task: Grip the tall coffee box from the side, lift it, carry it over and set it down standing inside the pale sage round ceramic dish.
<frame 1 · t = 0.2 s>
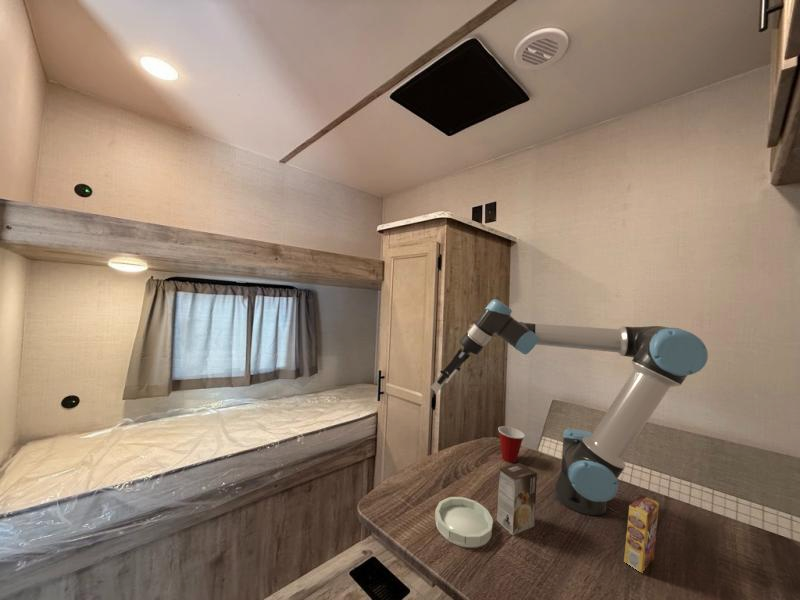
hand: (439, 385, 109), 35 cm above the table, tool tilted 35°, fingers open, 13 cm apart
plastic cup: (509, 459, 127), on the table
coffee box: (515, 524, 90), on the table
candy box: (639, 562, 79), on the table
round dish: (463, 525, 88), on the table
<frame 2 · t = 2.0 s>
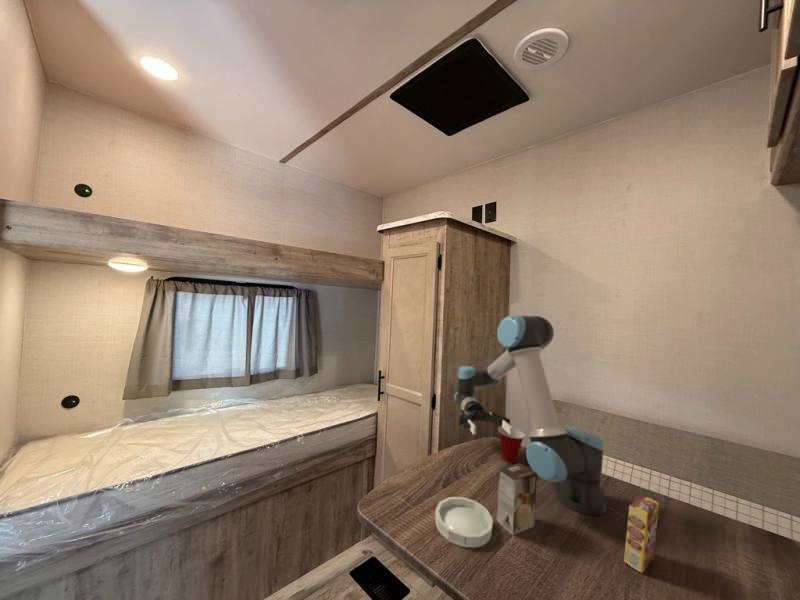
hand: (493, 431, 108), 19 cm above the table, tool horizontal, fingers open, 13 cm apart
nothing on the table moved.
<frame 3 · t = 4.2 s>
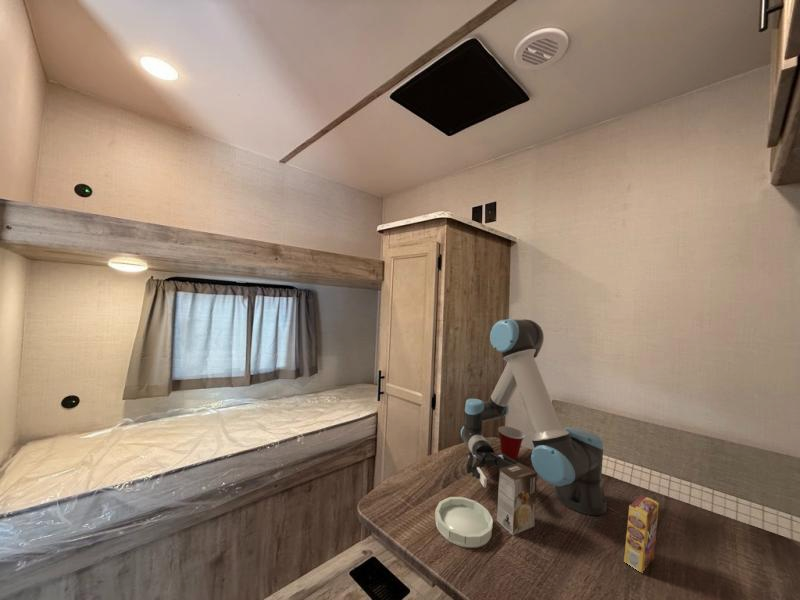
hand: (505, 482, 96), 8 cm above the table, tool horizontal, fingers open, 13 cm apart
nothing on the table moved.
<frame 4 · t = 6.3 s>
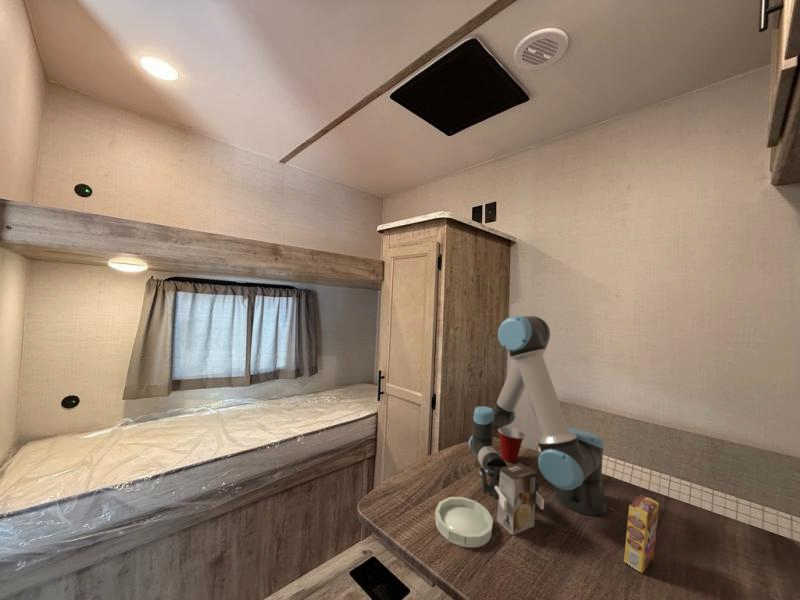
hand: (524, 504, 86), 9 cm above the table, tool horizontal, fingers closed on coffee box, 10 cm apart
coffee box: (515, 524, 90), on the table, touching gripper
everything else where it was.
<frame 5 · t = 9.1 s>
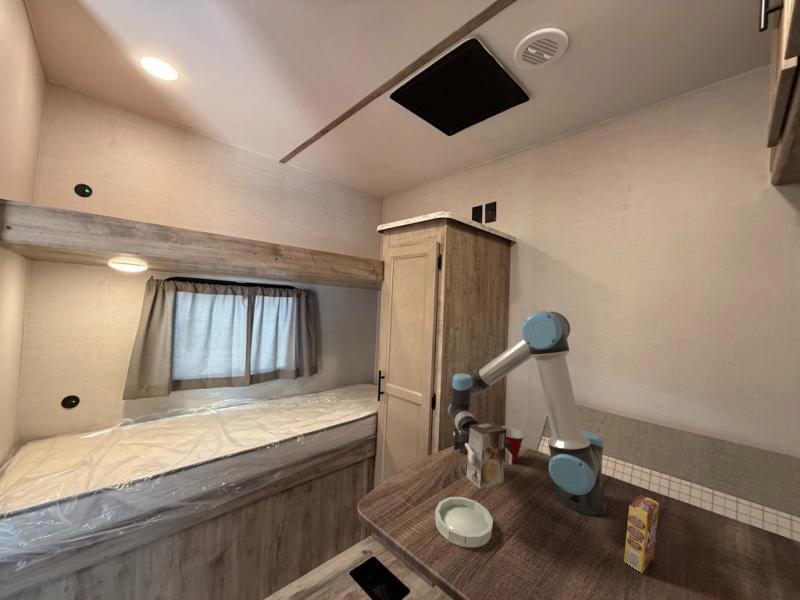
hand: (491, 459, 86), 21 cm above the table, tool horizontal, fingers closed on coffee box, 10 cm apart
coffee box: (484, 480, 90), point 12 cm above the table, touching gripper
everything else where it was.
when the fingers open (11 cm above the table, at t = 11.9 s): coffee box drops 1 cm, resting on round dish.
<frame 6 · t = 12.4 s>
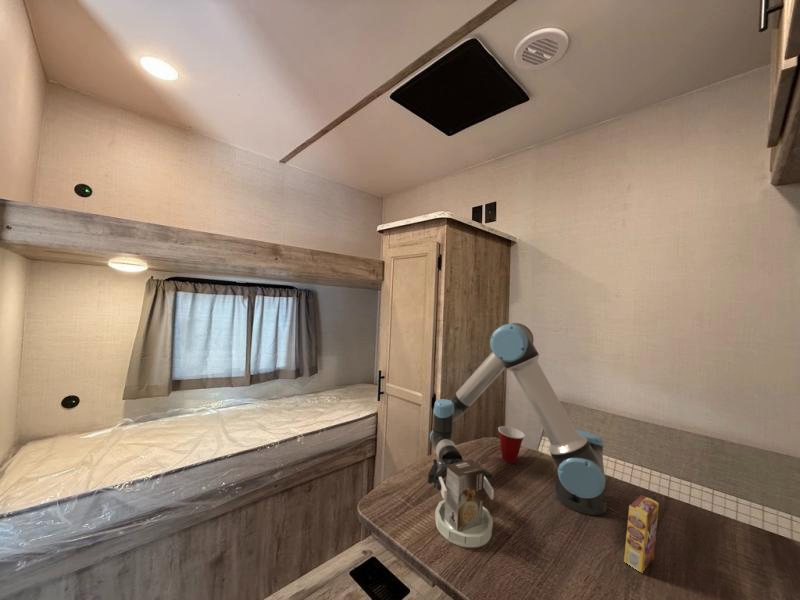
hand: (469, 495, 85), 11 cm above the table, tool horizontal, fingers open, 13 cm apart
coffee box: (462, 522, 88), point 1 cm above the table, touching round dish
everything else where it was.
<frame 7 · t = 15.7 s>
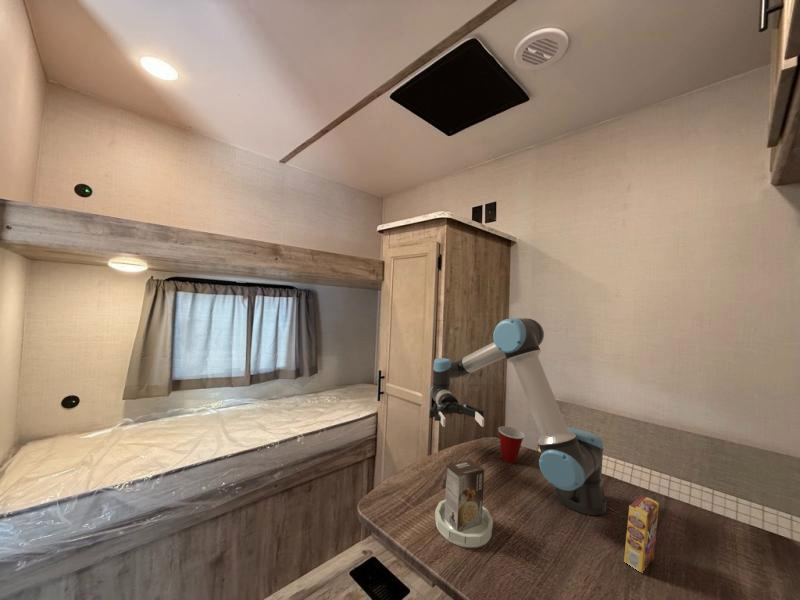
hand: (463, 422, 102), 24 cm above the table, tool horizontal, fingers open, 13 cm apart
nothing on the table moved.
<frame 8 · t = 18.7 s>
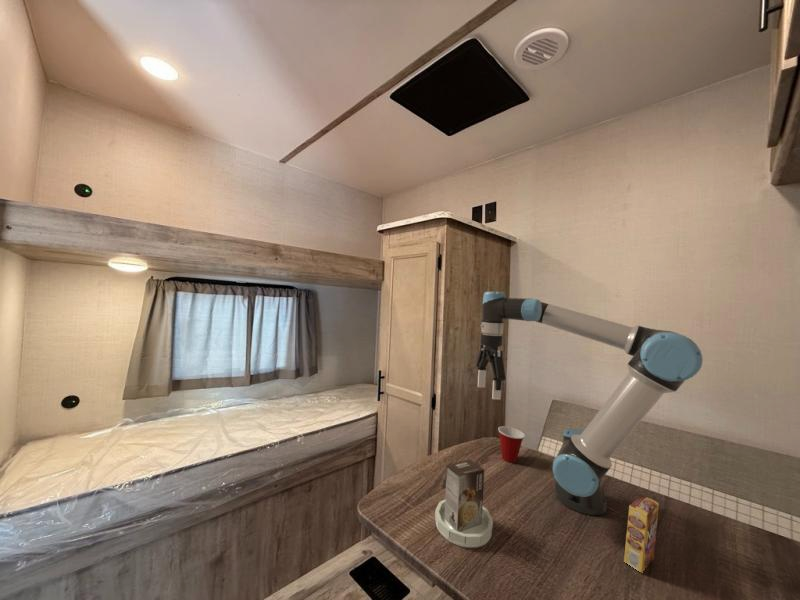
hand: (488, 392, 109), 33 cm above the table, tool pointing down, fingers open, 13 cm apart
nothing on the table moved.
at the end: coffee box inside the target area on the round dish (0.2 cm from its centre), point 0.8 cm above the round dish's base; coffee box tilted 0°; the gripper is holding nothing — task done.
